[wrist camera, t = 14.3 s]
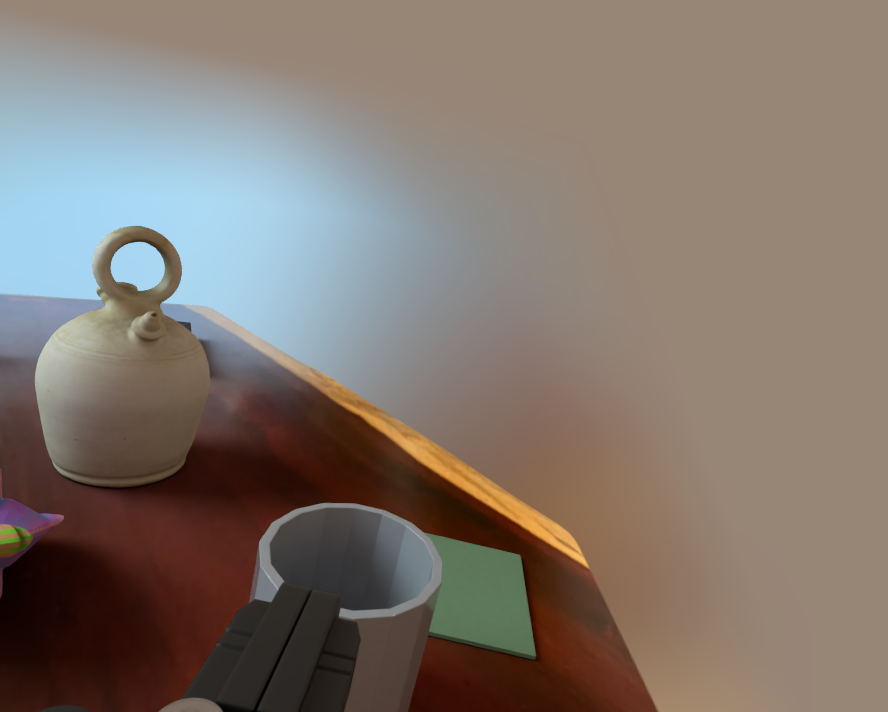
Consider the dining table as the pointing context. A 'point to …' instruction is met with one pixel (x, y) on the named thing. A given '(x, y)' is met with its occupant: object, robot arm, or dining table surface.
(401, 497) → the dining table surface
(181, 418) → the jug
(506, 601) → the cloth
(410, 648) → the faceted pen holder
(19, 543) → the decorative fish
